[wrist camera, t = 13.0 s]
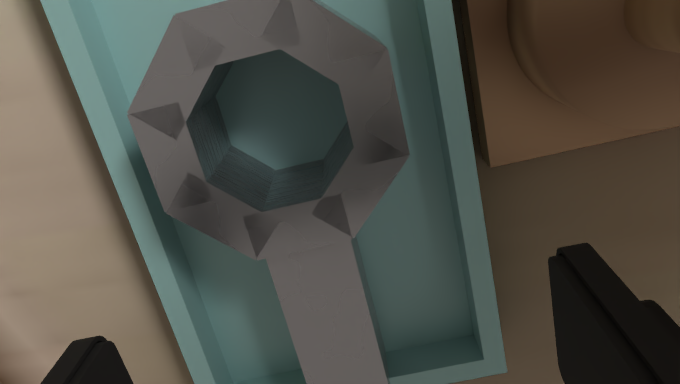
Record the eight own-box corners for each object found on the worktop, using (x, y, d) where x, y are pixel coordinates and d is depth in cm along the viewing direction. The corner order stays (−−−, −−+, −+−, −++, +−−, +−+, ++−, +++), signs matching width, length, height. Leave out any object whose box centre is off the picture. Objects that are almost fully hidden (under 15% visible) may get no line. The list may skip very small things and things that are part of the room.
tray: (23, -132, 15) (-20, -149, 13) (401, -236, 14) (411, -270, 12) (223, 391, 21) (212, 428, 19) (491, 338, 20) (507, 372, 18)
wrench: (146, 25, 16) (95, 34, 12) (362, -31, 15) (370, -38, 12) (266, 364, 20) (252, 439, 16) (438, 328, 19) (460, 397, 16)
